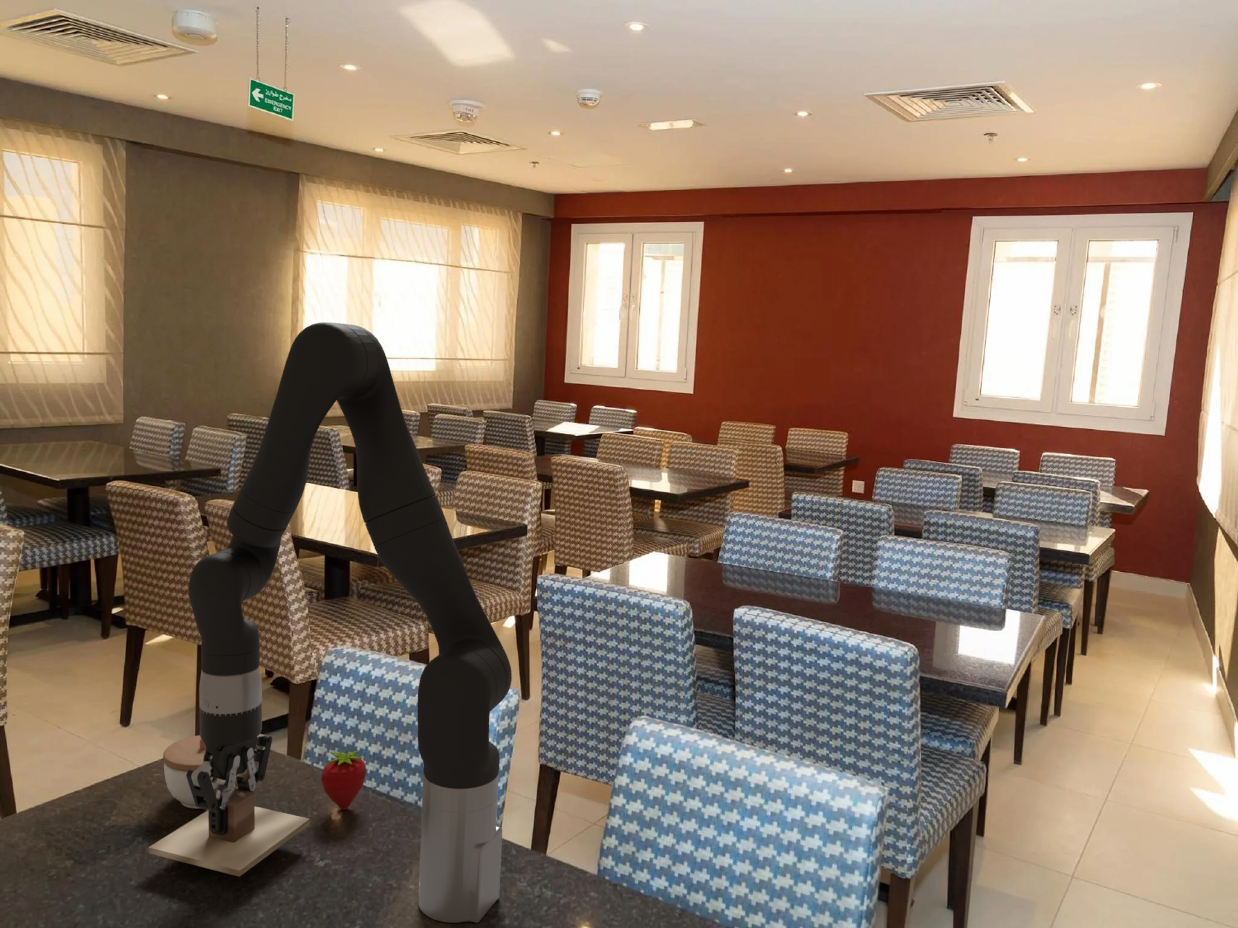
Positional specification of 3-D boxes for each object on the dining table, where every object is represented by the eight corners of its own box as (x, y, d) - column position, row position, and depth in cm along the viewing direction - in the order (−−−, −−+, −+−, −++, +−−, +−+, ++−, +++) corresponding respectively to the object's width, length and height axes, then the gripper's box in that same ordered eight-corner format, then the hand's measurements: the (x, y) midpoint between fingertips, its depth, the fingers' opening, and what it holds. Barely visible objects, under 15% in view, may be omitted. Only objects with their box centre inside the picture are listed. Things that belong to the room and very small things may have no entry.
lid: (309, 824, 133) (309, 783, 132) (239, 876, 120) (239, 832, 119) (225, 804, 137) (224, 765, 136) (148, 852, 124) (147, 810, 123)
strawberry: (310, 816, 140) (312, 750, 139) (339, 793, 147) (341, 731, 146) (347, 824, 139) (348, 758, 137) (374, 801, 146) (376, 737, 145)
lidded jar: (187, 824, 136) (187, 760, 135) (149, 798, 143) (148, 738, 141) (256, 798, 145) (257, 738, 143) (217, 775, 151) (217, 717, 150)
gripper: (215, 725, 118) (217, 857, 120) (290, 687, 131) (289, 806, 134) (166, 715, 120) (168, 845, 123) (244, 678, 134) (244, 796, 136)
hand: (231, 824), depth 128 cm, fingers closed on lid, 4 cm apart
